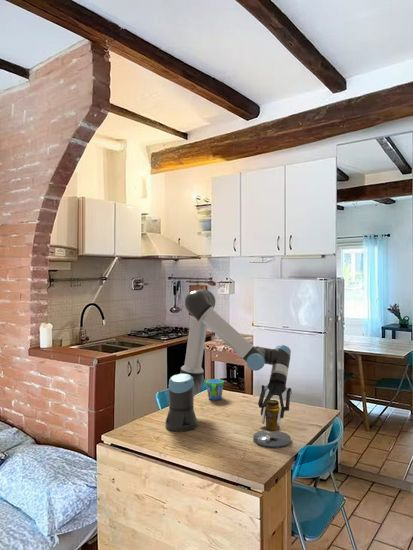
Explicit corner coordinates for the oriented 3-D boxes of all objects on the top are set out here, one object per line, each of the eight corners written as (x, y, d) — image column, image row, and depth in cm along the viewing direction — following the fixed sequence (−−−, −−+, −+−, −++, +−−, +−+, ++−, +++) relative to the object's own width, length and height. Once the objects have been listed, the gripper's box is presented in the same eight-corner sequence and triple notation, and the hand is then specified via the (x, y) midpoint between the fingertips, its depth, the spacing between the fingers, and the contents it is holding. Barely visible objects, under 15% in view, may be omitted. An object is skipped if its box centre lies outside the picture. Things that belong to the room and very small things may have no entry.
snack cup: (209, 394, 252) (208, 377, 252) (226, 395, 250) (226, 378, 250) (202, 402, 237) (202, 383, 237) (221, 403, 235) (221, 385, 235)
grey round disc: (248, 444, 179) (248, 434, 179) (258, 431, 193) (258, 421, 193) (286, 450, 172) (286, 439, 172) (293, 436, 187) (293, 426, 187)
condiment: (284, 429, 182) (283, 402, 182) (269, 434, 178) (269, 405, 178) (272, 424, 188) (272, 397, 188) (258, 428, 184) (257, 401, 184)
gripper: (300, 382, 193) (294, 430, 178) (260, 378, 201) (250, 424, 186) (298, 373, 188) (291, 422, 173) (257, 370, 196) (247, 416, 181)
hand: (270, 423), depth 179 cm, fingers closed on condiment, 6 cm apart
